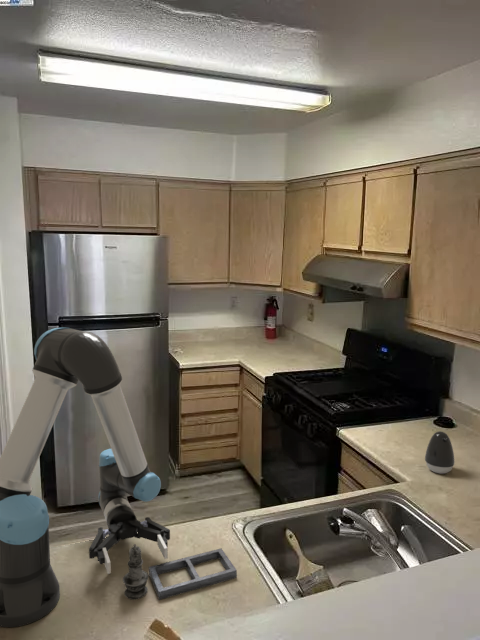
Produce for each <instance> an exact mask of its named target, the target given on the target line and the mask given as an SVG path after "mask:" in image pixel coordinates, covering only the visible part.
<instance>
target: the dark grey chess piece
mask: <svg viewBox="0 0 480 640" xmlns="http://www.w3.org/2000/svg"><path fill="white" fill-rule="evenodd" d="M128 551H129V552H128V561H127V566H128V572H127V573H125V574H124V575H123V577H122V582H123V584H124V587H125V588H126V589H124V597H126V598H127V599H128V600H133V601H134V600H139V599H141V598H144V597H145V596H146V595H147V593H148V586H146V585H147V582H148V580H149V573H148V572H147V571H145V570H143V563H144V560H143V559H142V550H141V548H140V547H139V546H137V544H133V546H132V547H130V548H129V550H128Z"/></svg>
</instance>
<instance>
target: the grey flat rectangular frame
mask: <svg viewBox="0 0 480 640" xmlns="http://www.w3.org/2000/svg"><path fill="white" fill-rule="evenodd" d="M214 560H219V561H220V563H221V565H222V566H223V568H224V569H225V570H223V571H219V572H215V573H211V574H207V575H204V576H201V577H200V575H199V574H198V572H197V570H196V568H195V566H196V565H199V564H204V563H207V562H210V561H214ZM180 569H186V571H187V573H188V575H189V577H190V580H187V581H182V582H178V583H175V584H173V585H168V586H166V587H164V586H163V583H162V582H161V580H160V577H159V575H162V574H165V573H169V572H173V571H176V570H177V571H178V570H180ZM237 570H238V569H237V568H236V567H235V566H234V564H233V563H232V562H231V560H230V558H229V557H228V555H227V554H226V553H225V551H224V550H223V548H221V547H220V548H218V549H214V550H210V551H205V552H202V553H196V554H194V555H190V556H187V557H183V558H179V559H174V560H171V561H166V562H163V563H159V564H156V565H151V566H148V577H149V579H150V582H151V583H152V587H153V588H154V590H155V593H156V596H157V598H158V600H159V601H160V600H163V599H167V598H171V597H173V596H174V597H175V596H178V595H182V594H185V593H188V592H192V591H196V590H199V589H203V588H206V587H209V586H212V585H217V584H219V583H222V582H223V583H224V582H226V581H230V580H234V579H237V578H238V577H237V576H238V575H237V573H238V572H237Z"/></svg>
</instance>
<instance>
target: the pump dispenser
mask: <svg viewBox="0 0 480 640" xmlns="http://www.w3.org/2000/svg"><path fill="white" fill-rule="evenodd" d="M425 450H426V451H425V455H424V461H425V464H426V466H427V469H429V470H430V471H432V472H433V473H435V474H448V473H450V471H452V469H453V467H454V466H455V463H456V461H455V453H454V448H453V444H452V441H451V439H450V437H449V435H448V433H446V432H444V431H442V430H440V431H435V432H434V433H433V435H432V436H431V438H430V439H429V442H428V444H427V447H426V449H425Z"/></svg>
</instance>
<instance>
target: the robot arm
mask: <svg viewBox="0 0 480 640" xmlns="http://www.w3.org/2000/svg"><path fill="white" fill-rule="evenodd" d="M33 349H34V350H33V353H34V357H35V360H36V361H35V363H34V366H33V368H32V373H33V376H34V381H33V383H32V385H31V388H30V390H29V392H28V394H27V397H26V399H25V401H24V403H23V406H22V407H21V409H20V412H19V414H18V416H17V419H16V421H15V423H14V426H13V427H12V430H11V432H10V435H9V436H8V439H7V441H6V443H5V446H4V448H3V450H2V453H1V454H0V627H2V628H14V627H15V628H16V627H21V626H26V625H29V624H32V623H34V622H36V621H38V620H40V619H42V618H43V617H45V616H47V615H48V614H49V613H50V612H51V611H52V610H53V609H54V608H55V607H56V606H57V605H58V603H59V600H60V595H61V590H60V583H59V580H58V578H57V575H56V573H55V570H54V569H53V567H52V565H51V551H50V548H51V547H50V545H51V544H50V515H49V512H48V511H49V510H48V506H47V504H46V502H45V501H44V500H43V499H42V498H41V497H38V496H36V495H32V490H33V487H32V483H31V481H30V480H31V478H32V474H33V473H34V471H35V468H36V466H37V463H38V461H39V458H40V456H41V454H42V452H43V449H44V447H45V446H46V442H47V440H48V438H49V435H50V433H51V431H52V428H53V425H54V424H55V421H56V419H57V416H58V414H59V412H60V410H61V407H62V405H63V402H64V400H65V398H66V396H67V393H68V391H69V390H70V389H73V388H74V387H77V385H78V383H80V384H81V385H82V388H83V390H84V393H85V394H86V395H89V396H91V399H92V403H93V404H94V407H95V410H96V412H97V416H98V417H99V421H100V423H101V425H102V428H103V431H104V433H105V436H106V438H107V441H108V444H109V446H110V448H108V449H105V450H102V451H101V453H100V454H99V460H98V461H99V465H98V470H99V485H100V486H99V492H98V497H97V498H98V505H99V506H100V509H101V511H102V513H103V517H104V519H105V521H106V524H107V527H108V528H106V529H103V526H101V527H98V528H97V534H96V536H95V538H94V539H93V540H92V542H91V544H90V546H89V548H88V553H89V559H91V560H93V559H94V558H97V562H98V563H99V565H103V564H104V567H105V570H106V574H107V575H109V574H111V573H112V572H111V571H112V568H111V566H112V565H111V560H110V557H109V554H108V552H109V551H110V550H111V549H112V547H114V545H117V544H118V543H119V541H120V540H121V541H123V540H127V539H131V538H135V539H141V538H143V539H145V540H149V541H152V542H156V543H157V547H158V549H159V551H160V553H161V555H162V557H163V558H164V560H167V559H168V558H169V557H168V551H169V550H168V549H169V548H168V547H169V545H168V542H169V541H170V540H171V529H170V528H168V527H166V526H164V525H162V524H159V523H158V522H156V521H153V520H152V519H151V518H150V517H149V516H146V517H144V519H145V520H142V521H140V520H138V519H137V517H136V516H137V515H136V514H135V512H134V511H133V507H132V506H131V504H130V502H129V500H128V496H127V494H128V495H130V496H132V497H133V498H134V499H135V500H136V499H137V500H140V501H142V502H144V503H145V502H146V503H147V502H150V501H152V500H153V499H155V498H156V497H157V496H158V494H159V493H160V491H161V487H162V482H161V479H160V477H159V476H158V475H157V474H156V473H155V472H153V471H151V470H150V467H149V464H148V461H147V458H146V455H145V453H144V450H143V448H142V445H141V441H140V439H139V435H138V433H137V429H136V427H135V423H134V422H133V418H132V416H131V412H130V410H129V407H128V404H127V400H126V397H125V395H124V392H123V389H122V385H121V383H122V382H123V377H122V373H121V370H120V368H119V366H118V363H117V360H116V359H115V356H114V354H113V352H112V350H111V349H110V347H109V345H107V343H106V342H105V341H104V339H102V337H100V336H99V335H97V334H95V333H93V332H90V331H84V330H78V329H76V328H75V329H74V328H70V327H55V328H52V329H49V330H46V331H45V332H43V333H42V334H40V336H39V338H38V339H37V340H36V342H35V345H34V348H33Z"/></svg>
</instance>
